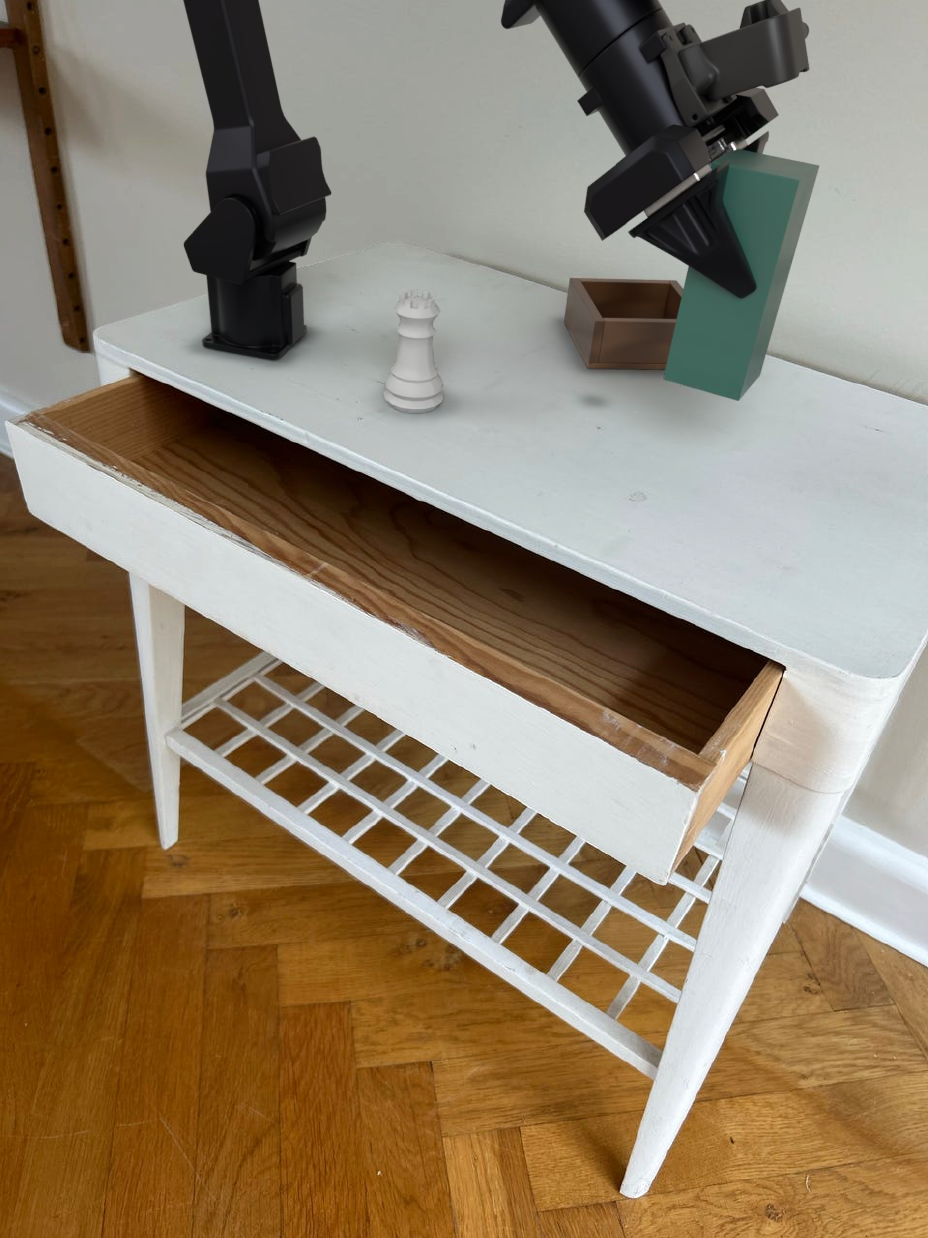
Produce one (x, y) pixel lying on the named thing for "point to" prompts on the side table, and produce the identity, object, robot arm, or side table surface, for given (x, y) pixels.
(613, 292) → the walnut holder
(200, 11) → the robot arm
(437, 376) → the rook chess piece
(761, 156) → the box
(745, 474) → the side table surface
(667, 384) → the side table surface
